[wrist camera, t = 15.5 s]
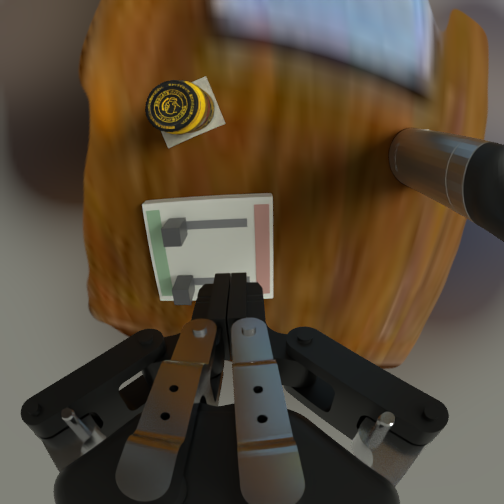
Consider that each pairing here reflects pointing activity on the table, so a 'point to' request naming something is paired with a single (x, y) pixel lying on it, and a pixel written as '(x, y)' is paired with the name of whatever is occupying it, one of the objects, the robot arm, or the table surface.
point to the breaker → (174, 232)
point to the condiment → (183, 109)
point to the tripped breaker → (183, 290)
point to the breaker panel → (213, 239)
